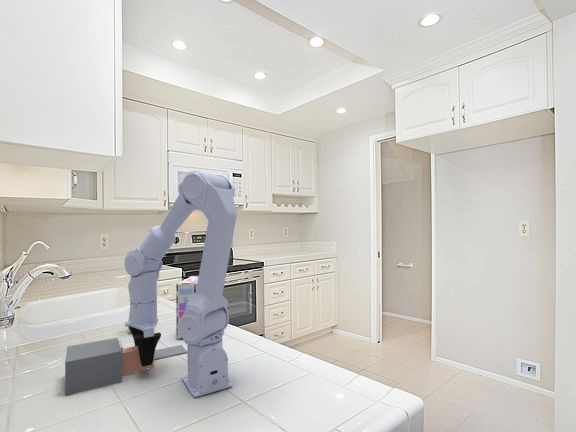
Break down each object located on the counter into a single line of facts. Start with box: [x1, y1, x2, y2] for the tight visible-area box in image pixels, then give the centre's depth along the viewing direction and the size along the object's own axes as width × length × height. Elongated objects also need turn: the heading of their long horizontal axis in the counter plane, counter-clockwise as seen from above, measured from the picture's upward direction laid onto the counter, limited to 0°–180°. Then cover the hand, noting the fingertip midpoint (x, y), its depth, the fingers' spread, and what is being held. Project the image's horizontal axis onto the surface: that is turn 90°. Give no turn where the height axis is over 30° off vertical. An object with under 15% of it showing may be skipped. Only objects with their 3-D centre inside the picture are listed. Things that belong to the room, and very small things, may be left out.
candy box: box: [175, 275, 199, 340], centre depth 102 cm, size 14×6×16 cm, turn 179°
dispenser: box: [64, 337, 124, 396], centre depth 72 cm, size 10×10×6 cm
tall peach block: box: [122, 345, 155, 376], centre depth 75 cm, size 3×11×5 cm, turn 126°
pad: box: [154, 344, 187, 361], centre depth 84 cm, size 6×14×1 cm, turn 122°
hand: (144, 359), depth 77 cm, fingers open, 7 cm apart
